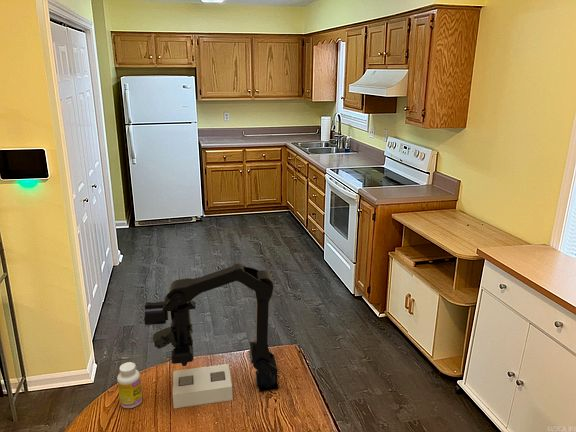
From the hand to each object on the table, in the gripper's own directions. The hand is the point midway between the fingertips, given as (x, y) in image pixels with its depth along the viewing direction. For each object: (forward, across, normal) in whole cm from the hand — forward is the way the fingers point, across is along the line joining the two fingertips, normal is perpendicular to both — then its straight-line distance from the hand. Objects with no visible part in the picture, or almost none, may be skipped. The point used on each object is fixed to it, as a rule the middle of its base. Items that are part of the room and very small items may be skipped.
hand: (184, 365), depth 142 cm
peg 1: (+11, 0, 0) cm, 11 cm away
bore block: (+11, 0, +5) cm, 12 cm away
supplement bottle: (+11, 0, -17) cm, 20 cm away
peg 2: (+11, 0, +10) cm, 15 cm away
